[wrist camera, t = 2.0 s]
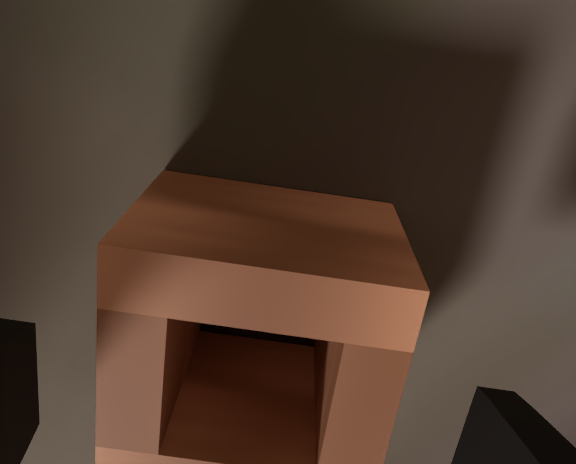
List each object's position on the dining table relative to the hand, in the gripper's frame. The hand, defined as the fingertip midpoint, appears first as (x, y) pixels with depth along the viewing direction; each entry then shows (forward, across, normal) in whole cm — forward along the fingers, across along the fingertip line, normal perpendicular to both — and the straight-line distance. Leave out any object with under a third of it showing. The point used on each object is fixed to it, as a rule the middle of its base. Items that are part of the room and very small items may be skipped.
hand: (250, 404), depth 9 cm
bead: (+4, 0, 0) cm, 4 cm away
